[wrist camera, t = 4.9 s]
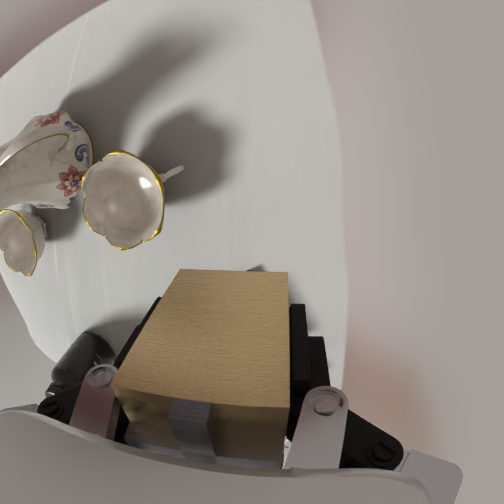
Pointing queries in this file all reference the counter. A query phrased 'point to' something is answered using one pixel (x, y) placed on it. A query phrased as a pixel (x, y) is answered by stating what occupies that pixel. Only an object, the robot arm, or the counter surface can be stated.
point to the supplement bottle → (79, 362)
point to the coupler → (212, 370)
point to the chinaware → (74, 189)
